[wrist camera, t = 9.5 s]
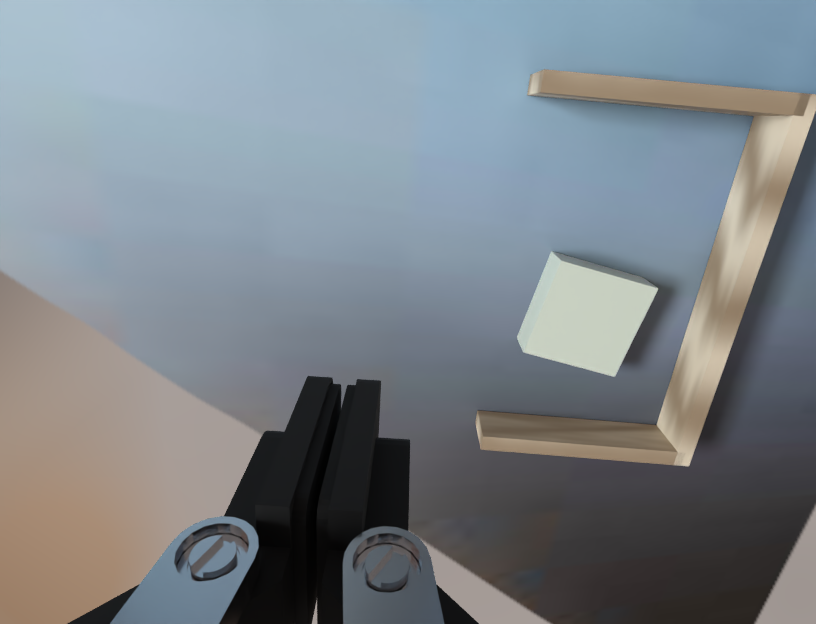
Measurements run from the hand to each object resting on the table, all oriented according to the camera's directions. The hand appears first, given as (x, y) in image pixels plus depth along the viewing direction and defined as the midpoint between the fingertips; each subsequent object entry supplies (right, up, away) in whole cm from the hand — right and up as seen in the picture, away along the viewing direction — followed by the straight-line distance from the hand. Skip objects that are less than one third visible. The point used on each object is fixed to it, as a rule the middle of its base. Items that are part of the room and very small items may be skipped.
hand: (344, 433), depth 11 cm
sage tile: (+12, +3, +20) cm, 24 cm away
